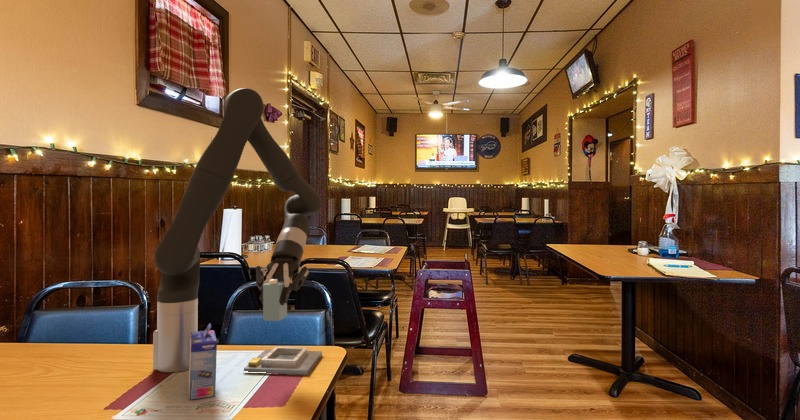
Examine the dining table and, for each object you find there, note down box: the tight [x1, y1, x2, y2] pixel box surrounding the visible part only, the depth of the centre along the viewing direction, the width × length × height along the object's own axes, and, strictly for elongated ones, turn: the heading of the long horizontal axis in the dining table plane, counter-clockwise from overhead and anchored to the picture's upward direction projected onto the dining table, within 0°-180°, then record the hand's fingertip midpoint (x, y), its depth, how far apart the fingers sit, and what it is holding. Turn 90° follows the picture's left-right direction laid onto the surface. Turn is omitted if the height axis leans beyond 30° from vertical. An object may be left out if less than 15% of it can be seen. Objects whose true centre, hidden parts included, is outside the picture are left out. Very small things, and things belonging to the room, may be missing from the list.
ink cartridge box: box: [187, 322, 218, 401], centre depth 93 cm, size 10×6×14 cm, turn 27°
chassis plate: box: [243, 346, 323, 377], centre depth 109 cm, size 16×14×3 cm
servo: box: [262, 279, 288, 322], centre depth 102 cm, size 4×5×10 cm
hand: (272, 302), depth 100 cm, fingers closed on servo, 4 cm apart
